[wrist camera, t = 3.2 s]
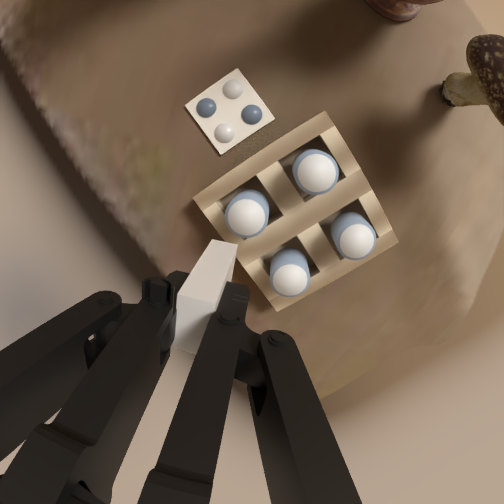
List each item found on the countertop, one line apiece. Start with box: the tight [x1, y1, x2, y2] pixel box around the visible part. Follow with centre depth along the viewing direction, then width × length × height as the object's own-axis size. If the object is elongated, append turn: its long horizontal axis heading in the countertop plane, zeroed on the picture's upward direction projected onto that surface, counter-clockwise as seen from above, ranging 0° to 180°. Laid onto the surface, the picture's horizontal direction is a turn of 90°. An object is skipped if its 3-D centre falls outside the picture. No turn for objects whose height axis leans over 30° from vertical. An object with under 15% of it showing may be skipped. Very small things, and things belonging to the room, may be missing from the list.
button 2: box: [292, 149, 339, 195], centre depth 27 cm, size 4×4×4 cm
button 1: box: [225, 189, 269, 238], centre depth 30 cm, size 4×4×4 cm
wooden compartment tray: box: [193, 111, 398, 311], centre depth 32 cm, size 16×16×3 cm
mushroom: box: [440, 34, 504, 126], centre depth 20 cm, size 9×9×15 cm
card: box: [185, 68, 275, 155], centre depth 30 cm, size 7×7×1 cm
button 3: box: [270, 248, 310, 297], centre depth 31 cm, size 4×4×4 cm
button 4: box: [331, 211, 376, 260], centre depth 29 cm, size 4×4×4 cm
